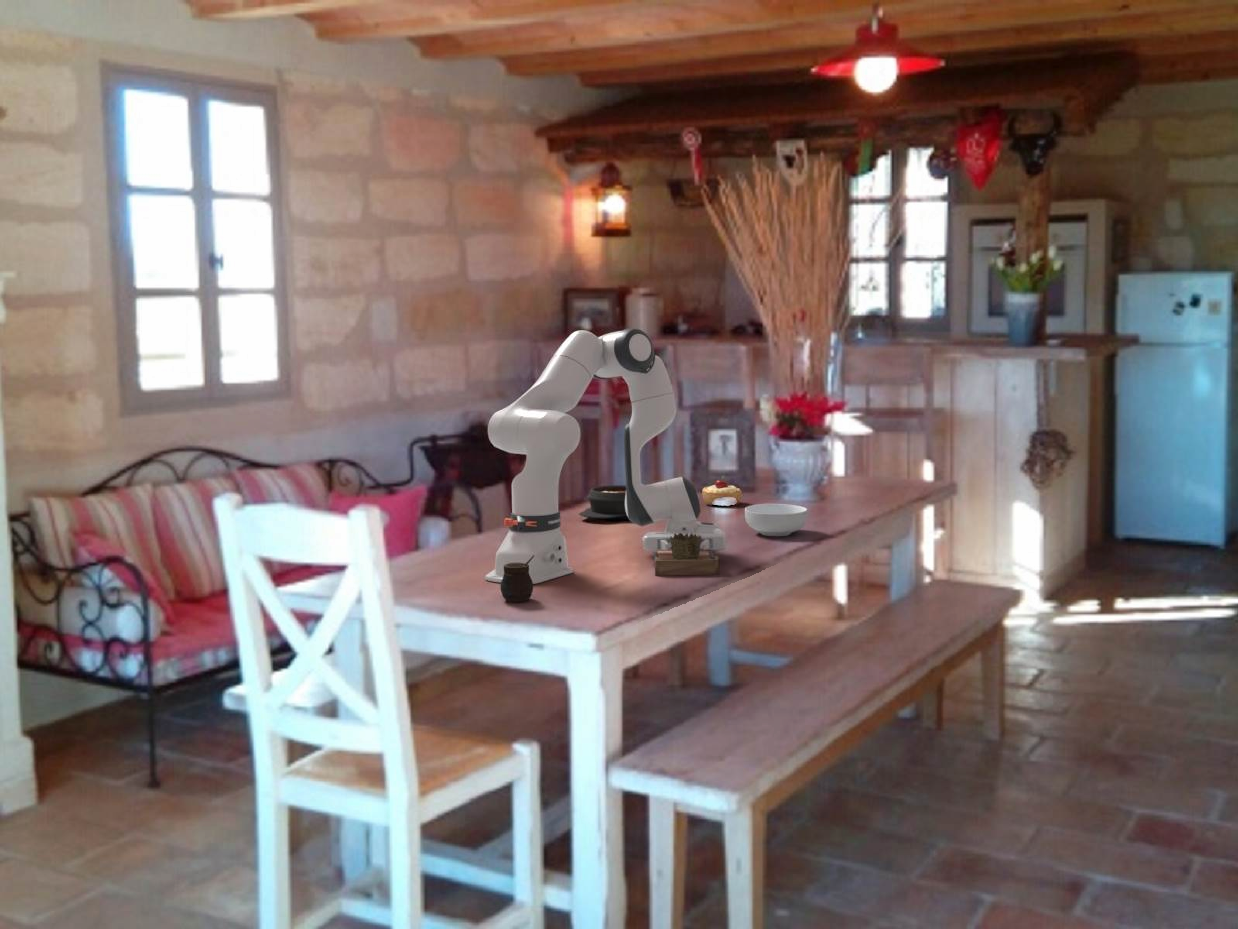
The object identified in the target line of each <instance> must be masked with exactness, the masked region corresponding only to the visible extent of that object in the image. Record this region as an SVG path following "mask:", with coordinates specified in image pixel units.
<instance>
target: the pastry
mask: <svg viewBox="0 0 1238 929" xmlns="http://www.w3.org/2000/svg"><path fill="white" fill-rule="evenodd" d="M721 478H722V480H720V479H718V480H715V483H714V484H713V485H710V486H708V485H707V486H703V488H702V494H701V496H702V499H703V501H704V503H705V504H706V505H708V506H712V505H713V504H712V502H713V501H714V500H715V499H717V498H722V497H734V498H736V500H737V503H736V505H735V506H738V504H739V503H740V501H741V499H742V494H743V492H742V490H741V489H740V488H739V487H738V488H737V486H735V485H729V483H728V482H727V481H725V480H724V478H725V479H726V480H728V479H727V478H728V477H726V476H725V475H724V474H723V475H722V476H721Z"/></svg>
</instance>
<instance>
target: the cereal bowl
mask: <svg viewBox="0 0 1238 929" xmlns="http://www.w3.org/2000/svg"><path fill="white" fill-rule="evenodd" d="M744 517H745V520H746V523H747V525H748V526H749V527H750V528H752V529H753V530H754V531H757V532H759V533H760V535H762V536H765V537H766V536H767V537H787V536H790V535H791V534H792V533H793V532H794V533H795V532H797V531H799V530H801V529H802V528H803V527H804V525H805V524H806V523H807V519H808V509H807V508H806V507H804V506H800V505H795V504H788V503H787V504H785V503H759V504H753V505H748V506H746V507H745V508H744Z"/></svg>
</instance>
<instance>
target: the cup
mask: <svg viewBox="0 0 1238 929" xmlns="http://www.w3.org/2000/svg"><path fill="white" fill-rule="evenodd" d="M670 539H671V544H672V553H673V557H674V559H675V560H697V558H698V556H699V552H700V543H701V536H699V535H698V537H697V536H696V534H694V535H693V534H690V536H689V537H688V534H685V536H684V535H683V534H682V533H679V534H678V535H676V534H674V538H672V536H670Z"/></svg>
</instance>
